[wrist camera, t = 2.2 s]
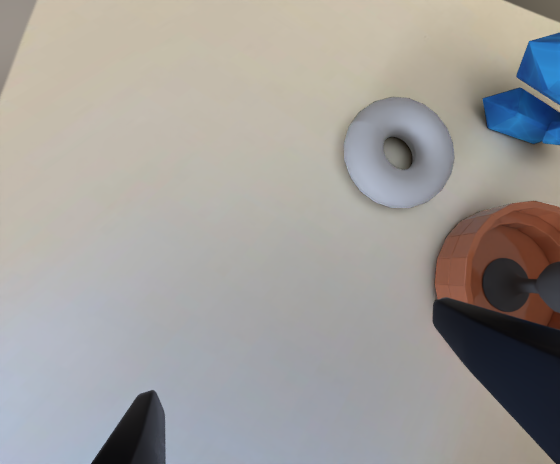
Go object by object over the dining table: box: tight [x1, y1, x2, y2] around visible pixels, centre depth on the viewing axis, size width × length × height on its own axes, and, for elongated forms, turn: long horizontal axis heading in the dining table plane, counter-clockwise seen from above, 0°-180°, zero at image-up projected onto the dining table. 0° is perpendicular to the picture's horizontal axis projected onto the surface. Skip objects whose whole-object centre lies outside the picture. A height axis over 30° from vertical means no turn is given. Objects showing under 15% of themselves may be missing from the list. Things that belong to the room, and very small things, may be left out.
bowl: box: [435, 201, 560, 330], centre depth 26 cm, size 14×14×4 cm
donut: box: [344, 97, 454, 208], centre depth 26 cm, size 10×3×10 cm
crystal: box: [482, 33, 560, 145], centre depth 27 cm, size 7×9×12 cm
